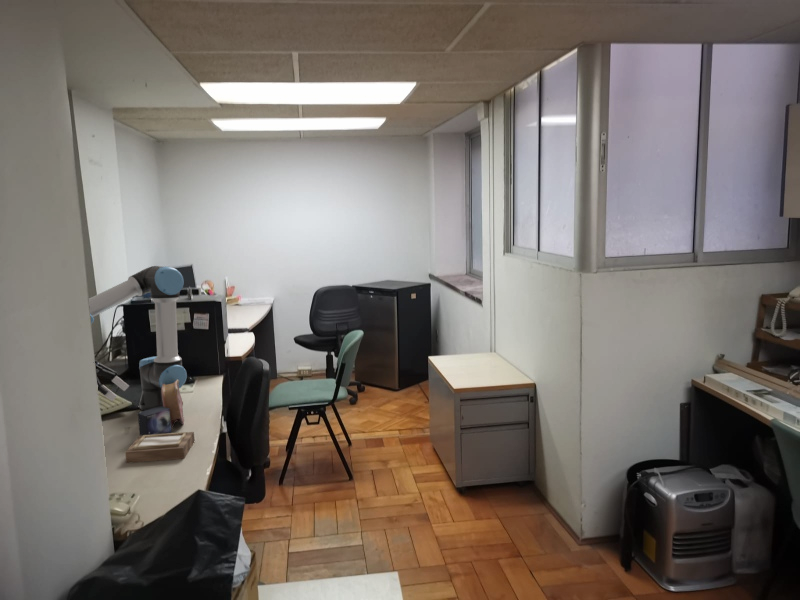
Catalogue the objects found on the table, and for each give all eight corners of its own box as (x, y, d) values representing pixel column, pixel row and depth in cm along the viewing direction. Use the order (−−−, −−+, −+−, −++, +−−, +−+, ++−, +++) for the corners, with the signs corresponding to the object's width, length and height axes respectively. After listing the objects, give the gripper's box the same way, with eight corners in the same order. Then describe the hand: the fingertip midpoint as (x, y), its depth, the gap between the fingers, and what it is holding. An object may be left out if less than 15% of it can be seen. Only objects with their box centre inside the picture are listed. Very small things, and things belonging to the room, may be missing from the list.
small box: (148, 441, 234) (145, 415, 232) (139, 438, 238) (136, 412, 236) (172, 432, 242) (170, 407, 241) (163, 429, 246) (160, 405, 244)
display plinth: (141, 445, 230) (139, 433, 229) (194, 441, 232) (193, 429, 231) (126, 462, 214) (124, 450, 213) (184, 458, 216) (182, 445, 215)
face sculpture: (185, 427, 246) (178, 388, 243) (168, 431, 244) (160, 392, 241) (185, 412, 265) (178, 376, 262) (168, 416, 263) (161, 380, 260)
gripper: (84, 357, 246) (125, 391, 249) (55, 373, 221) (102, 410, 224) (96, 344, 245) (137, 378, 249) (69, 358, 221) (115, 395, 224)
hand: (121, 393), depth 237 cm, fingers open, 13 cm apart
